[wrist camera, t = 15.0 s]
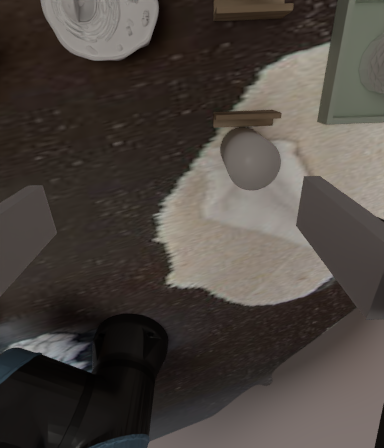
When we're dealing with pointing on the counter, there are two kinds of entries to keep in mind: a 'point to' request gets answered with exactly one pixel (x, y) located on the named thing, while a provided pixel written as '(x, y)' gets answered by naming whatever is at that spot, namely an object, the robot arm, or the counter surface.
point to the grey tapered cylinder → (249, 158)
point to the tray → (351, 65)
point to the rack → (248, 10)
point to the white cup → (373, 66)
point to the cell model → (102, 26)
